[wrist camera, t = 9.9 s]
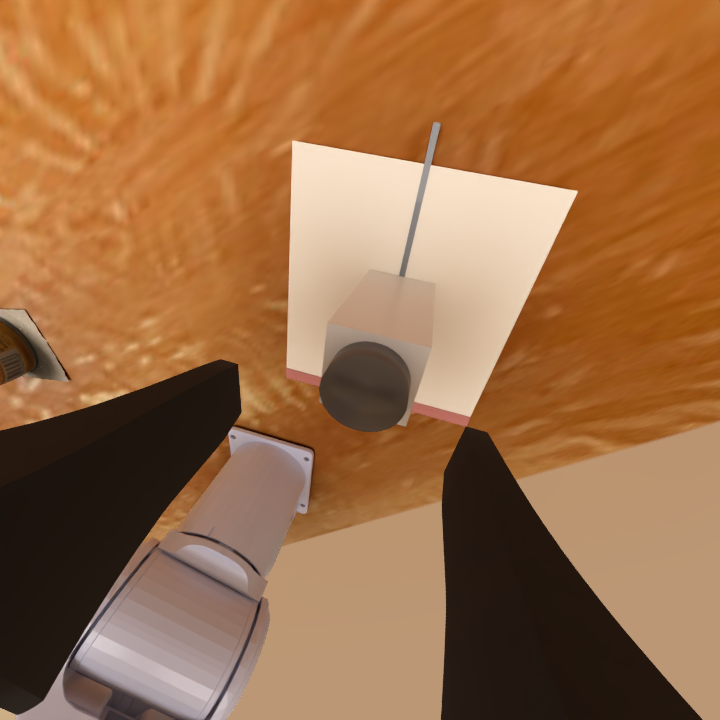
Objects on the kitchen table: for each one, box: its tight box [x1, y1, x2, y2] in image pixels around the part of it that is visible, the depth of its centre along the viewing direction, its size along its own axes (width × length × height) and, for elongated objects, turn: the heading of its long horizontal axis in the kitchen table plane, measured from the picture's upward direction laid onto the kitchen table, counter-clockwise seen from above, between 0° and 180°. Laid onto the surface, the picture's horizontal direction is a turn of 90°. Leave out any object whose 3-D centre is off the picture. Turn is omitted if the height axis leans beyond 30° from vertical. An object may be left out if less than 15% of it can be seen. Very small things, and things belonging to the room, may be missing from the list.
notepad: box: [286, 122, 578, 426], centre depth 18 cm, size 17×13×1 cm
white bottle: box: [319, 269, 435, 432], centre depth 14 cm, size 4×4×9 cm
